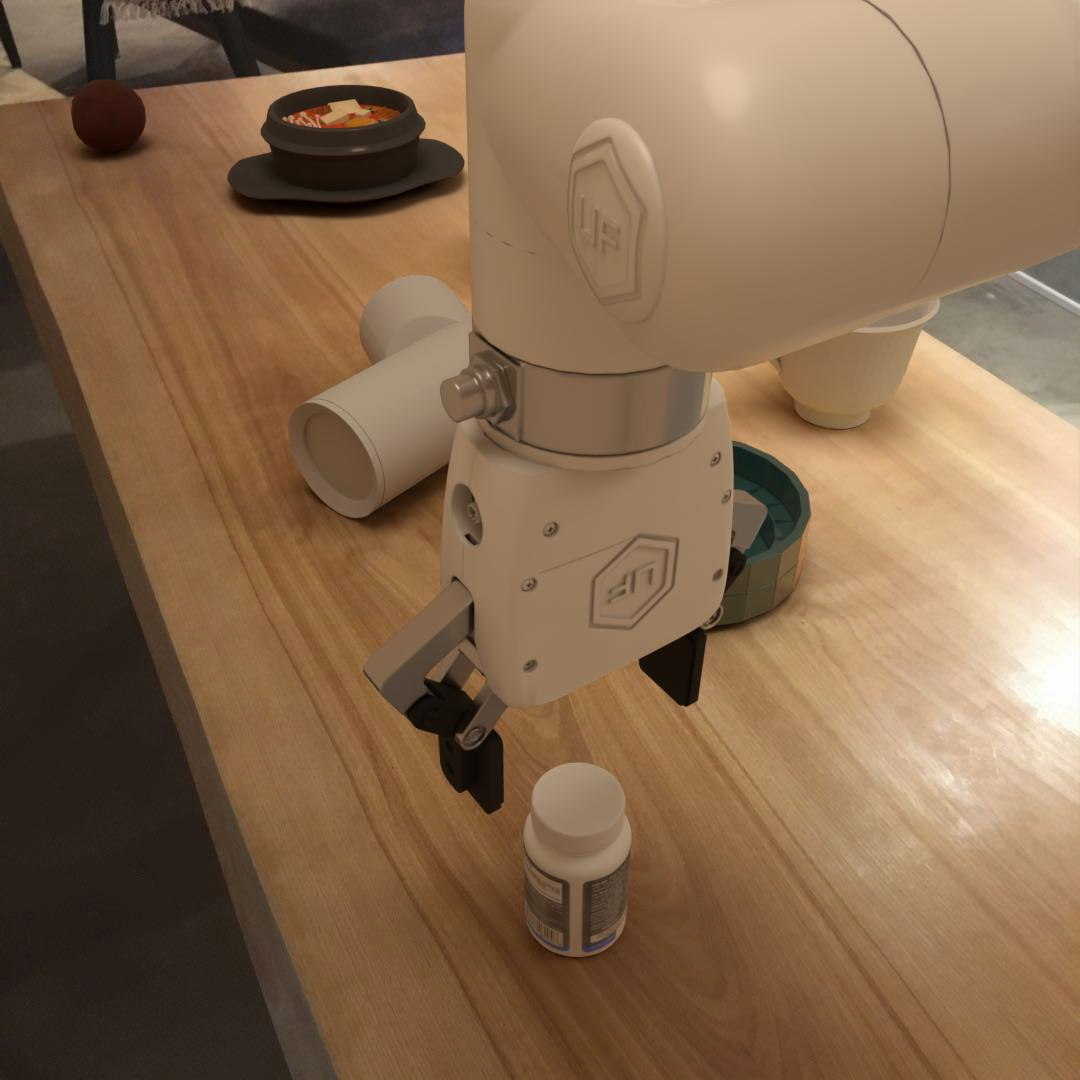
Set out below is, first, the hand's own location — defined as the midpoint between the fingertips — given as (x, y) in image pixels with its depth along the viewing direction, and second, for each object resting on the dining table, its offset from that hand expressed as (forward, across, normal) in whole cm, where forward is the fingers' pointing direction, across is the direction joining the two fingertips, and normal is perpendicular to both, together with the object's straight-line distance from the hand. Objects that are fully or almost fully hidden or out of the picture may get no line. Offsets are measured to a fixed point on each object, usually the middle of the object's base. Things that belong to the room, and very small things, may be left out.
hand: (575, 733), depth 48 cm
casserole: (+14, +34, +86) cm, 93 cm away
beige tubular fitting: (+13, +13, +38) cm, 43 cm away
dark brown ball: (+14, +17, +110) cm, 112 cm away
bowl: (+12, +22, +16) cm, 30 cm away
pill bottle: (+12, 0, -1) cm, 12 cm away
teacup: (+12, +41, +25) cm, 50 cm away
